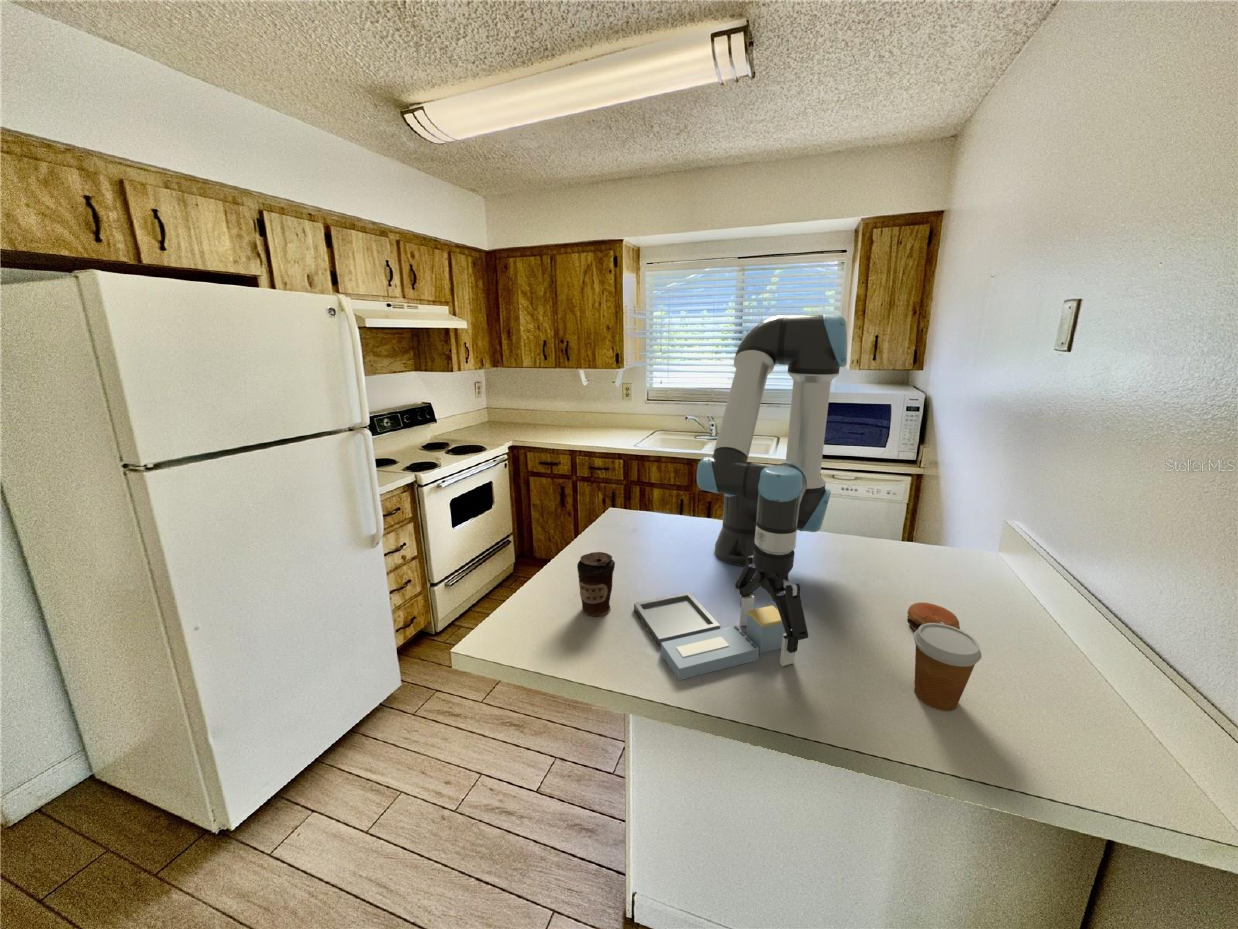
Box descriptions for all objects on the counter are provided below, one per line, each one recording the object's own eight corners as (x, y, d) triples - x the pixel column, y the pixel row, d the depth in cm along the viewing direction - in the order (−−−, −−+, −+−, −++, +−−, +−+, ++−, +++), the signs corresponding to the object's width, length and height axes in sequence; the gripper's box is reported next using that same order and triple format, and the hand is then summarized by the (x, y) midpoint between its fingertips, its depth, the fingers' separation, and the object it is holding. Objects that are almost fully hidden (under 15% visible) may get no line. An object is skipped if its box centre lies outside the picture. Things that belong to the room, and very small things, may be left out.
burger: (932, 614, 108) (936, 596, 107) (969, 640, 99) (973, 620, 98) (894, 619, 106) (897, 601, 105) (928, 646, 97) (932, 626, 96)
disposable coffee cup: (892, 680, 88) (902, 622, 85) (941, 677, 89) (953, 620, 85) (928, 720, 79) (941, 658, 75) (983, 717, 79) (998, 654, 76)
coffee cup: (610, 622, 105) (609, 569, 101) (573, 618, 107) (571, 565, 103) (618, 601, 113) (618, 551, 110) (584, 597, 115) (582, 547, 111)
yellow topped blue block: (769, 633, 102) (772, 605, 100) (785, 647, 97) (788, 618, 95) (745, 638, 100) (747, 610, 98) (759, 653, 95) (762, 624, 93)
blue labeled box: (735, 635, 101) (736, 624, 100) (758, 659, 93) (759, 647, 93) (660, 653, 95) (661, 641, 94) (678, 680, 88) (679, 667, 87)
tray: (688, 598, 114) (689, 592, 114) (719, 632, 102) (720, 625, 101) (633, 610, 110) (634, 603, 109) (658, 646, 97) (659, 639, 97)
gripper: (722, 525, 103) (717, 613, 108) (802, 580, 80) (789, 688, 85) (752, 521, 105) (745, 607, 111) (838, 573, 82) (824, 678, 88)
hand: (765, 642), depth 98 cm, fingers open, 13 cm apart
